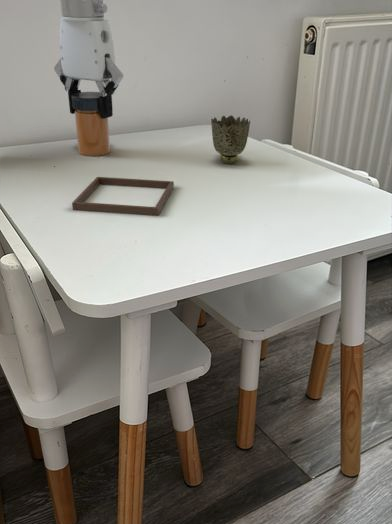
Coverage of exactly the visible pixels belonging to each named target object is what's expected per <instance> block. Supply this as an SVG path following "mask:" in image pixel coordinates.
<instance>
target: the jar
mask: <svg viewBox="0 0 392 524" xmlns="http://www.w3.org/2000/svg"><path fill="white" fill-rule="evenodd" d="M74 120H75V131H76V140H77V141H76V142H77V149H78V154H79V155H82V156H85V157H101V156H105V155H108V154H110V152H111V147H110V146H111V145H110V132H109V131H110V130H109V117H108V118H105V119H102V118H100V111H80V110H75V114H74Z"/></svg>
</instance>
